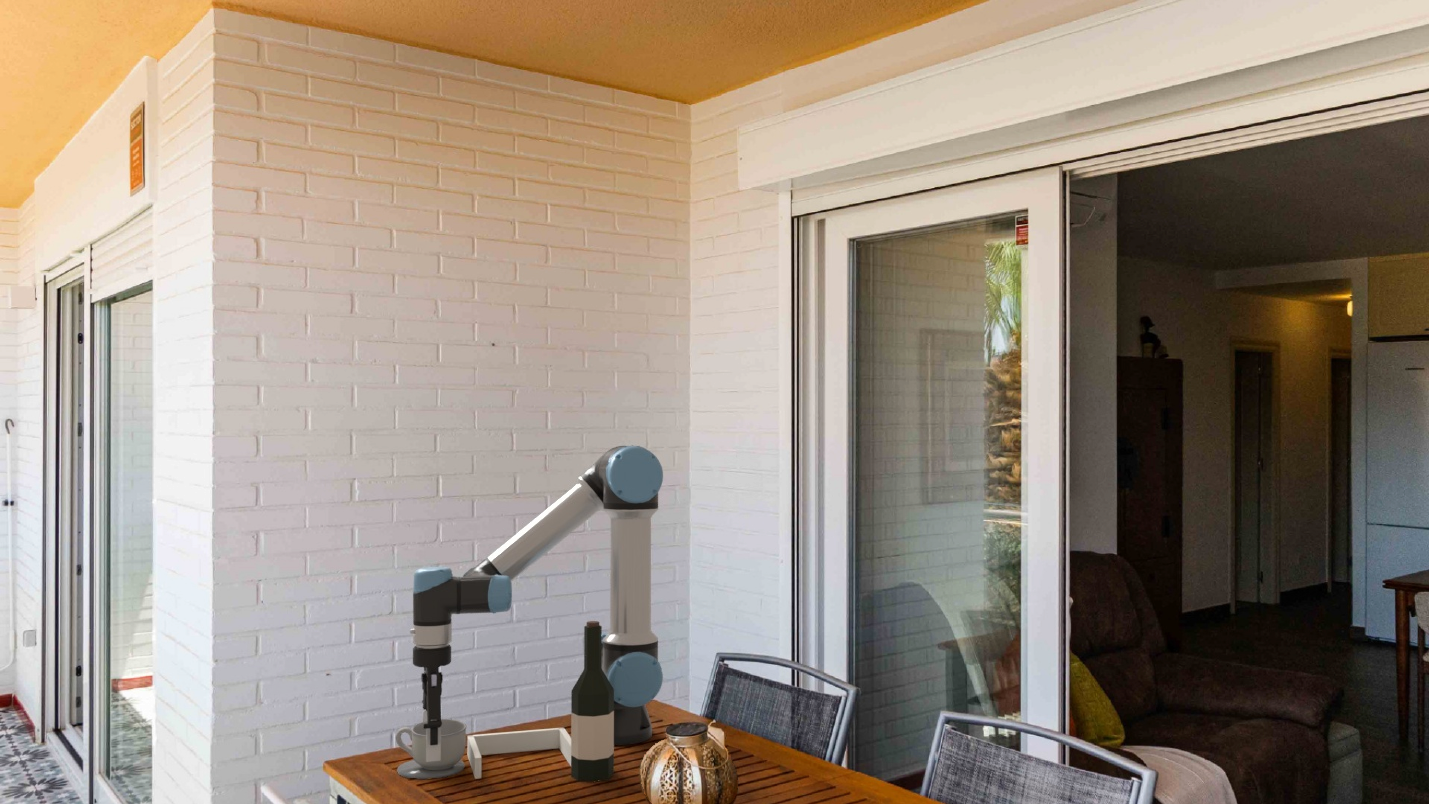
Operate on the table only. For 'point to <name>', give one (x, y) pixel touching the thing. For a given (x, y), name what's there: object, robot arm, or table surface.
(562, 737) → the white u-shaped frame
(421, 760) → the teacup
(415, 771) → the grey flat disc
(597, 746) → the wine bottle
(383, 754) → the table surface
